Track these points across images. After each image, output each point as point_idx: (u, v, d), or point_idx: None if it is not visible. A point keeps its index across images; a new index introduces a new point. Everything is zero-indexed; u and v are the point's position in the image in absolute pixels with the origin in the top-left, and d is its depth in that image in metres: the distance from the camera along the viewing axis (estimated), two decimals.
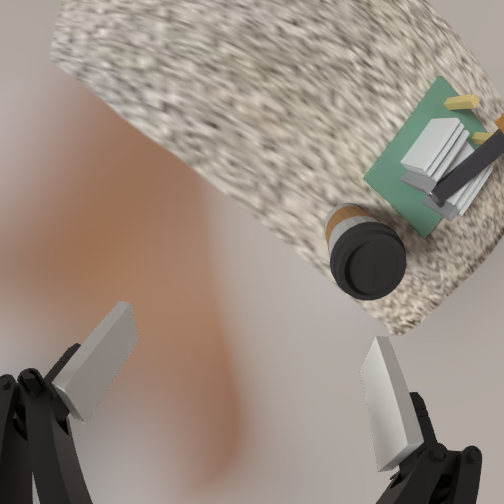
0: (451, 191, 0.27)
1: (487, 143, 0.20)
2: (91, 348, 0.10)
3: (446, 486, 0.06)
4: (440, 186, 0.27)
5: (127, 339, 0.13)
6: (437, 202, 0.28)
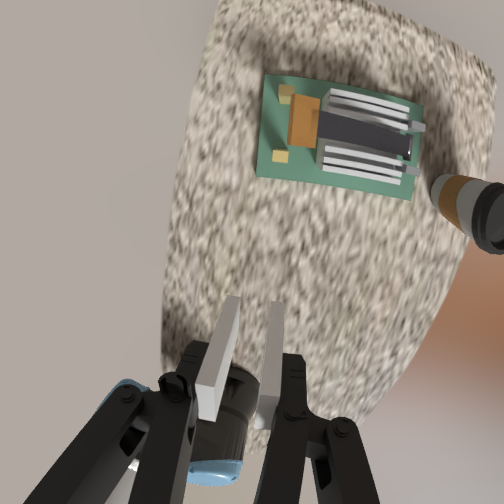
0: (398, 137, 0.24)
1: (340, 140, 0.22)
2: (223, 342, 0.12)
3: None
4: (401, 152, 0.25)
5: (235, 332, 0.15)
6: (412, 142, 0.25)
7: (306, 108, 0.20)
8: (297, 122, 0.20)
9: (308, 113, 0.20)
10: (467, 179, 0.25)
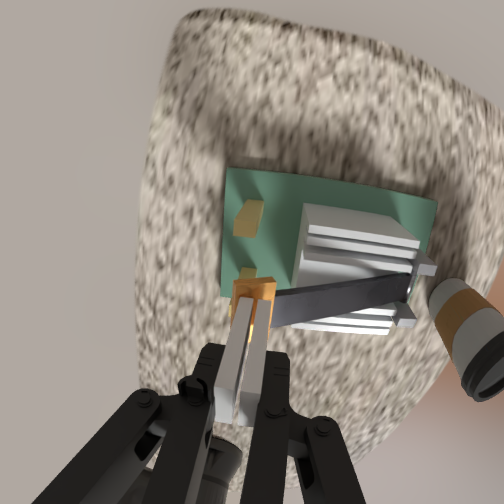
0: (395, 283, 0.20)
1: (306, 320, 0.18)
2: (240, 344, 0.12)
3: None
4: (395, 298, 0.21)
5: (248, 333, 0.15)
6: (414, 280, 0.21)
7: (254, 300, 0.16)
8: None
9: None
10: (474, 308, 0.21)
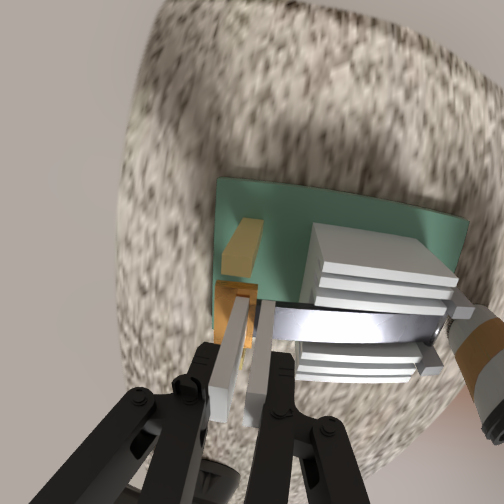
0: (416, 320, 0.16)
1: (295, 339, 0.17)
2: (235, 343, 0.12)
3: None
4: (416, 338, 0.16)
5: (244, 333, 0.15)
6: (443, 321, 0.15)
7: None
8: (220, 321, 0.16)
9: None
10: (501, 344, 0.15)
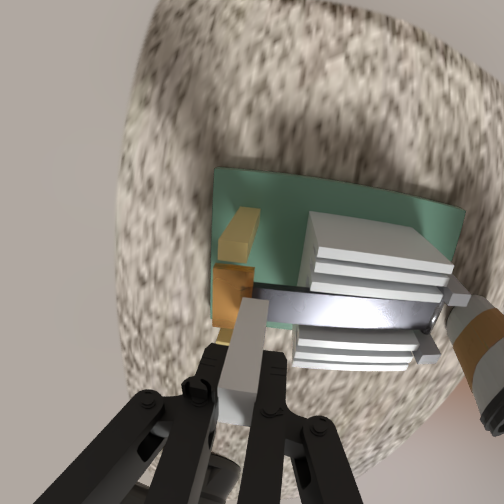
0: (412, 307, 0.16)
1: (292, 322, 0.17)
2: (243, 345, 0.12)
3: None
4: (413, 325, 0.17)
5: None
6: (439, 309, 0.16)
7: (231, 286, 0.16)
8: (218, 303, 0.17)
9: (235, 292, 0.17)
10: (499, 334, 0.16)
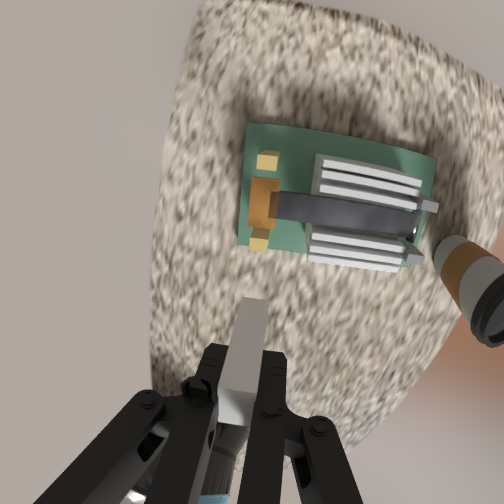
0: (395, 215, 0.22)
1: (307, 221, 0.24)
2: (243, 345, 0.12)
3: None
4: (398, 232, 0.23)
5: None
6: (418, 220, 0.22)
7: (264, 191, 0.23)
8: (253, 205, 0.23)
9: (266, 196, 0.23)
10: (477, 256, 0.22)
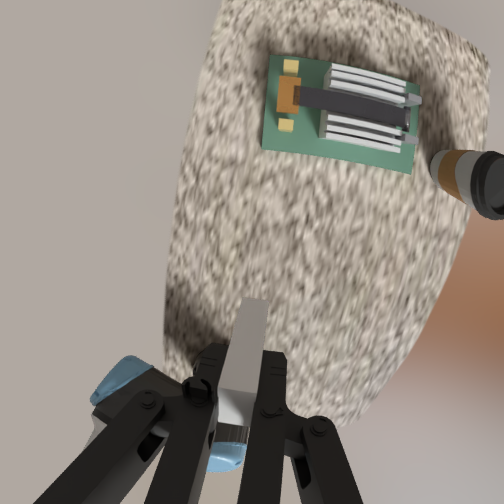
0: (390, 108, 0.26)
1: (322, 108, 0.27)
2: (243, 345, 0.12)
3: None
4: (395, 122, 0.26)
5: None
6: (408, 114, 0.26)
7: (289, 85, 0.26)
8: (281, 95, 0.27)
9: (291, 88, 0.26)
10: (464, 151, 0.26)
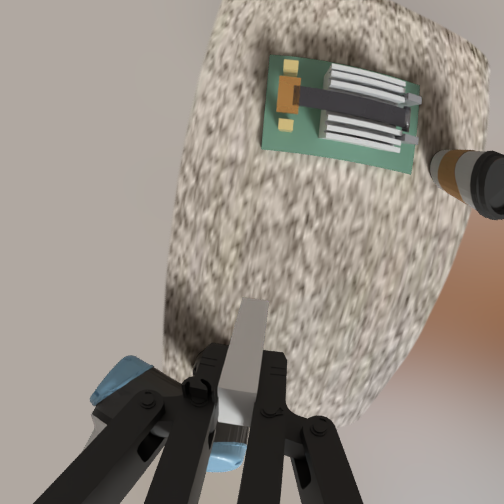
0: (390, 108, 0.26)
1: (322, 108, 0.27)
2: (243, 345, 0.12)
3: None
4: (394, 122, 0.26)
5: None
6: (408, 114, 0.26)
7: (289, 85, 0.26)
8: (281, 95, 0.27)
9: (290, 88, 0.26)
10: (464, 151, 0.26)
